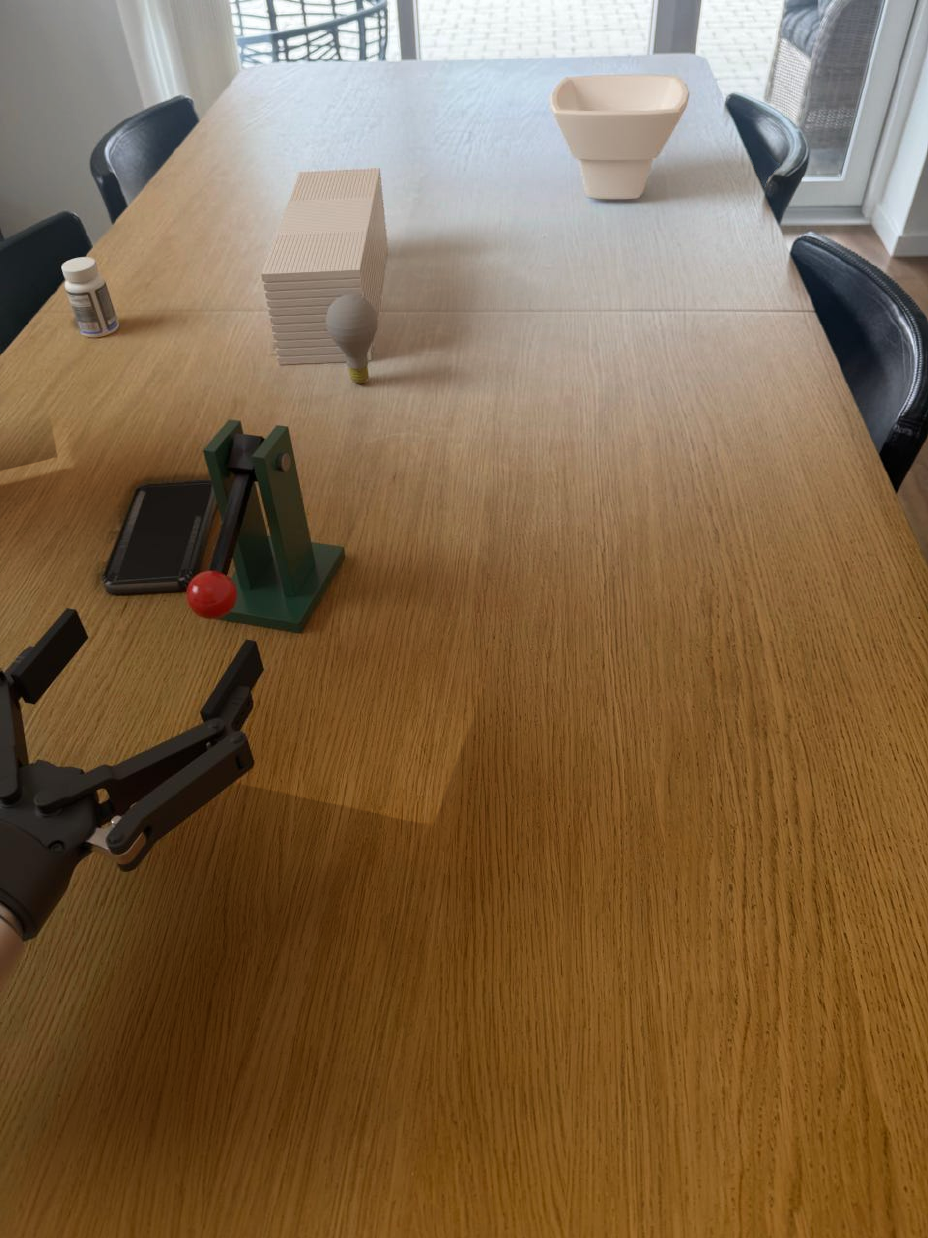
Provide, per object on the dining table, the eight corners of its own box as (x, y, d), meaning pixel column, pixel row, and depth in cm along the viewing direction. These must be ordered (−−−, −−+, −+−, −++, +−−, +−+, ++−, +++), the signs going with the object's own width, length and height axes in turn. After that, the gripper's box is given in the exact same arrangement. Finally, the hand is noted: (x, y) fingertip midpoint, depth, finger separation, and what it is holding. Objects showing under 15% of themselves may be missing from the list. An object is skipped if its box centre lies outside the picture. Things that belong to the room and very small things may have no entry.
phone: (98, 585, 82) (138, 482, 93) (102, 595, 83) (141, 492, 93) (191, 580, 82) (219, 478, 93) (194, 590, 82) (222, 488, 93)
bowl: (679, 218, 137) (690, 111, 127) (543, 217, 140) (543, 112, 130) (679, 172, 150) (689, 73, 141) (554, 172, 153) (556, 74, 144)
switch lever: (237, 628, 72) (216, 615, 69) (194, 620, 73) (171, 607, 69) (285, 454, 75) (267, 433, 72) (243, 448, 76) (224, 428, 73)
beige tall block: (312, 252, 135) (299, 171, 127) (388, 248, 134) (379, 167, 127) (279, 364, 111) (261, 273, 104) (371, 360, 111) (359, 269, 104)
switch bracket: (300, 633, 78) (266, 482, 68) (212, 618, 80) (165, 468, 70) (346, 557, 85) (320, 409, 75) (263, 544, 87) (227, 398, 77)
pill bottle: (109, 317, 123) (89, 251, 117) (125, 329, 120) (105, 263, 114) (74, 329, 121) (51, 263, 115) (89, 342, 118) (67, 275, 112)
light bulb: (354, 400, 104) (341, 313, 98) (326, 382, 108) (312, 296, 101) (394, 382, 107) (385, 296, 100) (366, 365, 110) (355, 280, 103)
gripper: (-187, 896, 57) (27, 648, 71) (194, 1002, 51) (342, 707, 65) (-258, 821, 51) (-12, 570, 66) (156, 928, 46) (325, 627, 60)
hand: (164, 638), depth 66 cm, fingers open, 13 cm apart
